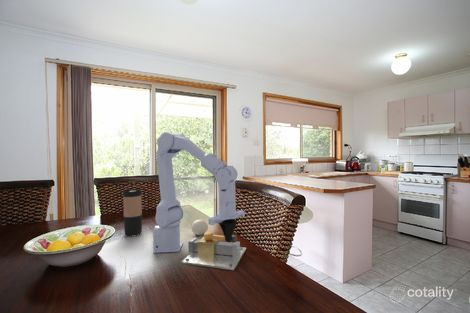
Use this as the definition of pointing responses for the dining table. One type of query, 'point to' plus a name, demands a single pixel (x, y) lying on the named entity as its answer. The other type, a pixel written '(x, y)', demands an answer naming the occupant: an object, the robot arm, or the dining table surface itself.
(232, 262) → the mounting plate
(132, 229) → the travel mug
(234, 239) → the lever
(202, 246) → the pipe valve
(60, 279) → the dining table surface
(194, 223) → the baseball
